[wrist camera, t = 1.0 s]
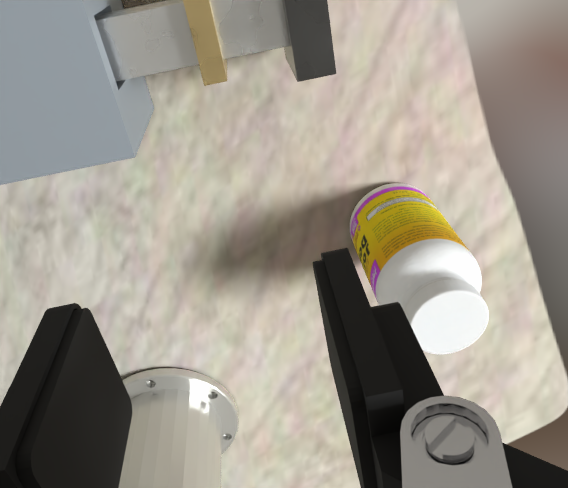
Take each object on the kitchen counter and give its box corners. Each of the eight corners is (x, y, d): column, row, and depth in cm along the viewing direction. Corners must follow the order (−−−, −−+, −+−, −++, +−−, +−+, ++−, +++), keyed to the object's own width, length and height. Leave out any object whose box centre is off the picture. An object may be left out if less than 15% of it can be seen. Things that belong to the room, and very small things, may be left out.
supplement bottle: (335, 200, 41) (378, 301, 30) (419, 166, 40) (495, 256, 29) (362, 268, 44) (409, 382, 33) (440, 238, 43) (515, 344, 32)
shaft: (318, 51, 33) (336, 73, 27) (83, 99, 33) (56, 131, 28) (302, -62, 30) (319, -60, 24) (43, -8, 30) (5, 5, 25)
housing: (154, 108, 36) (135, 157, 28) (36, 132, 36) (-16, 188, 28) (102, -63, 31) (61, -60, 23) (-36, -35, 31) (-122, -23, 23)
